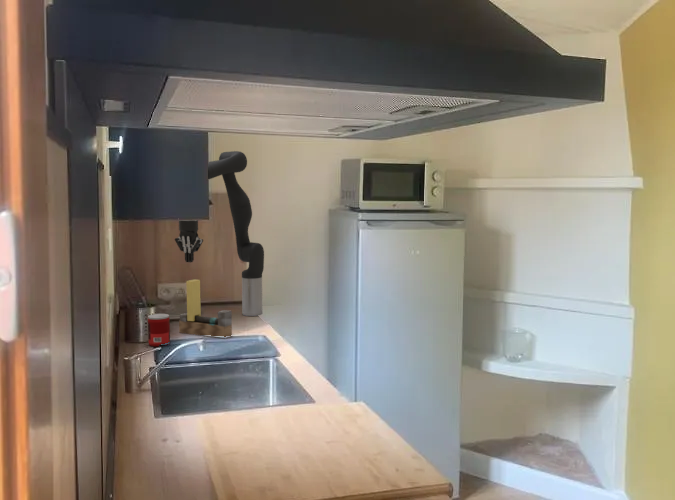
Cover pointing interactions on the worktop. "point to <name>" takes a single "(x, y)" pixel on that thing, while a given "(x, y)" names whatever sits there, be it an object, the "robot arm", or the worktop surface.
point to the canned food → (158, 329)
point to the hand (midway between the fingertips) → (189, 262)
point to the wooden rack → (207, 324)
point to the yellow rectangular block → (193, 299)
